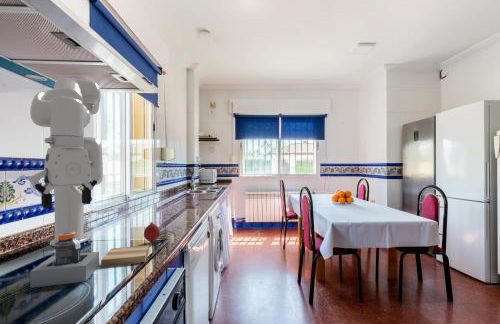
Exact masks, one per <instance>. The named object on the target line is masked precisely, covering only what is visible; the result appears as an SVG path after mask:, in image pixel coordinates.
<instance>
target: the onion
mask: <svg viewBox="0 0 500 324" xmlns="http://www.w3.org/2000/svg"><path fill="white" fill-rule="evenodd" d="M143 232H144V233H143V237H144V239H145V240H147V241H148V242H149V243H151V244H152V243H153V244H154V243H155V241H156V240H158V238H159V237H160V235H161V230H160V228H159V226H158V225H156V224H155V223H154V222H153V221H150V223H149V225H147V226H146V227H145V229H144V231H143Z"/></svg>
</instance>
